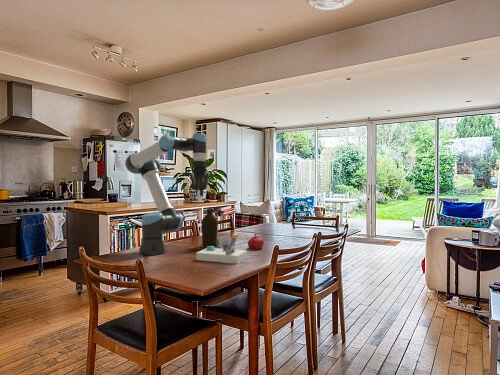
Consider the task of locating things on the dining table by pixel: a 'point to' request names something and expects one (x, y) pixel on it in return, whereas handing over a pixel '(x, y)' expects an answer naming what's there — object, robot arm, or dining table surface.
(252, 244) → the pomegranate
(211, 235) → the olive oil
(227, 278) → the dining table surface
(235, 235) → the lever
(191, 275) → the dining table surface
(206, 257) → the panel
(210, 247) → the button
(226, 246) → the slider
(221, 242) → the electrical switch
